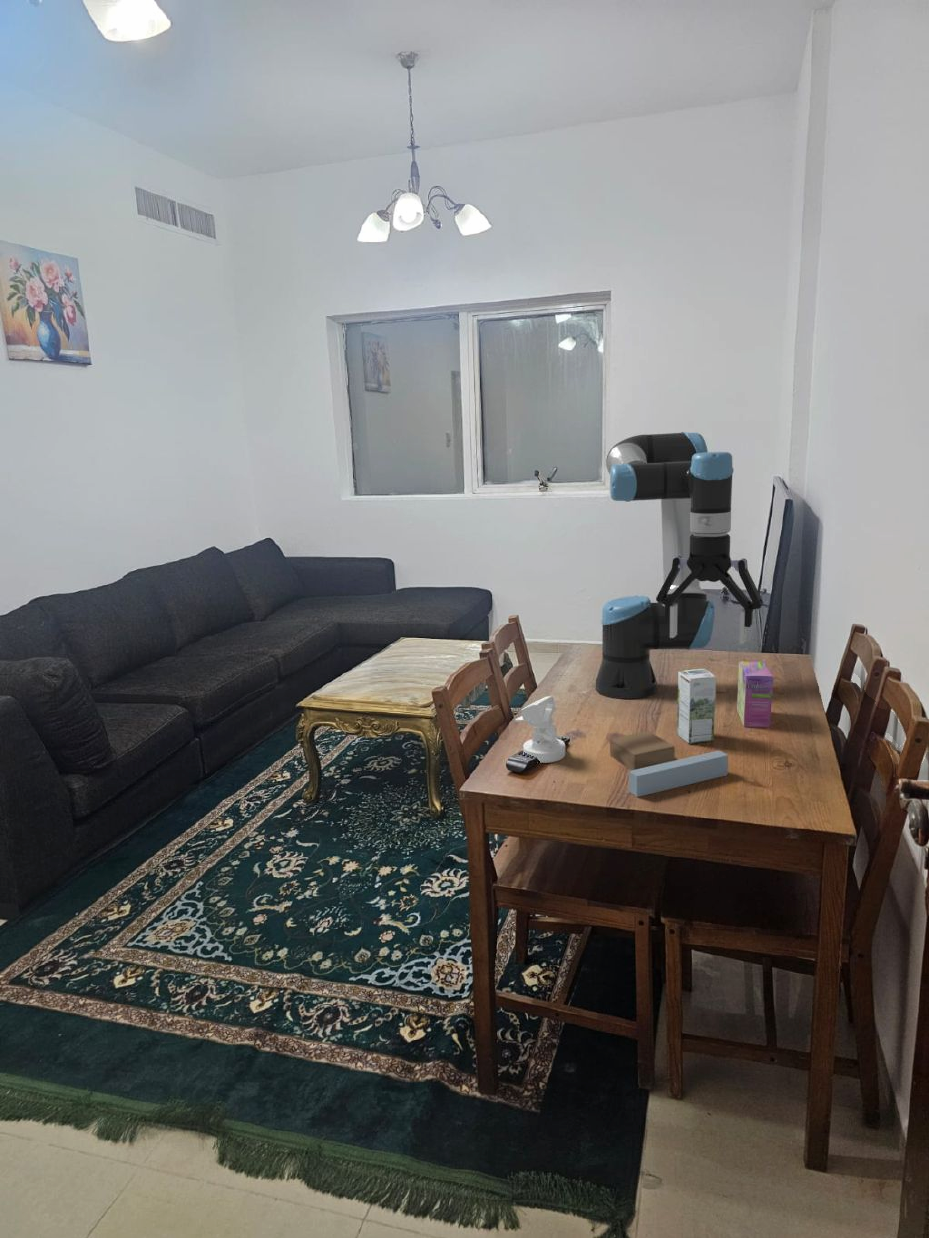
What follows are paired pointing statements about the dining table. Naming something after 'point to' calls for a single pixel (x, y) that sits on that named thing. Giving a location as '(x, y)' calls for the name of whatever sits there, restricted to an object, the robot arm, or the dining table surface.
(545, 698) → the character figurine
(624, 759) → the block
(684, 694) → the syrup box
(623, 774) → the dining table surface
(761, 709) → the box
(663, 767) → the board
